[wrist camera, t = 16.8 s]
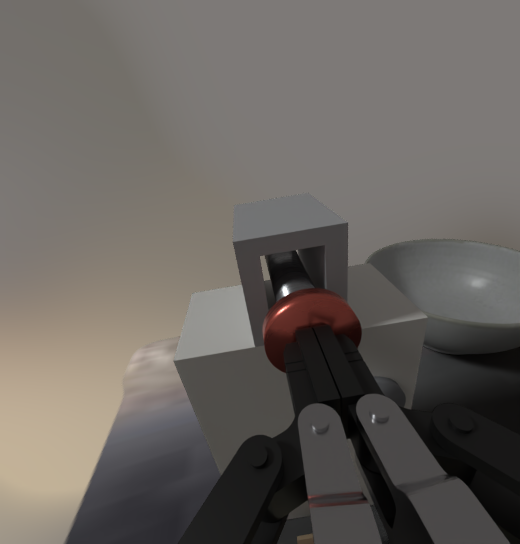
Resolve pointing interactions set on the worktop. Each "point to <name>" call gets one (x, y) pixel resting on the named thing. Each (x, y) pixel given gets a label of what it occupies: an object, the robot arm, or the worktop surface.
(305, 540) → the rail
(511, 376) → the worktop surface
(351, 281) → the grey tall flat block
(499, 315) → the decorative bowl
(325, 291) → the ball
